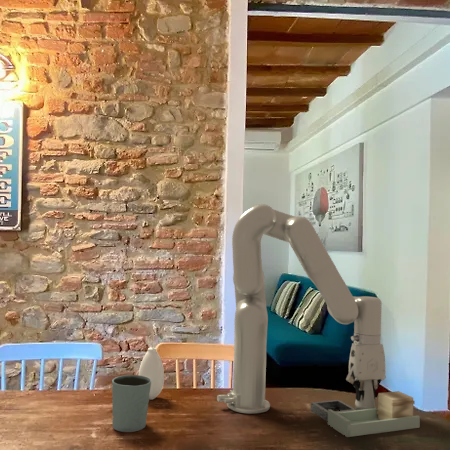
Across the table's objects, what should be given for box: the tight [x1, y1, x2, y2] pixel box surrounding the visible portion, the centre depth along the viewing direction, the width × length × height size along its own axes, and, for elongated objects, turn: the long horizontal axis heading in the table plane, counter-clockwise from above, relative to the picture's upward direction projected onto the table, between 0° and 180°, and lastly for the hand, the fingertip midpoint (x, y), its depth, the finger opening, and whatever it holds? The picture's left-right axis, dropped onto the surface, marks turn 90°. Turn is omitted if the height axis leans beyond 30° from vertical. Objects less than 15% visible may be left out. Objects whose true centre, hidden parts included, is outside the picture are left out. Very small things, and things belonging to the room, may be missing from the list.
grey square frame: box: [310, 399, 357, 422], centre depth 150 cm, size 10×10×2 cm
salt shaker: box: [354, 380, 376, 410], centre depth 152 cm, size 6×6×13 cm
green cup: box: [111, 374, 151, 433], centre depth 137 cm, size 10×10×12 cm
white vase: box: [137, 339, 165, 401], centre depth 159 cm, size 8×8×18 cm
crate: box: [376, 390, 416, 420], centre depth 144 cm, size 7×7×7 cm
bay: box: [327, 407, 421, 438], centre depth 142 cm, size 23×9×4 cm, turn 111°
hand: (365, 401), depth 152 cm, fingers closed on salt shaker, 3 cm apart
